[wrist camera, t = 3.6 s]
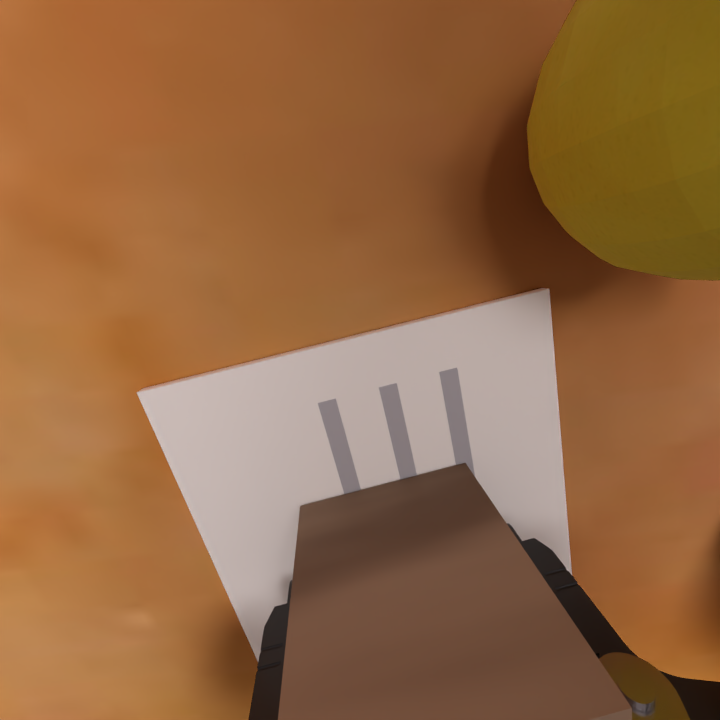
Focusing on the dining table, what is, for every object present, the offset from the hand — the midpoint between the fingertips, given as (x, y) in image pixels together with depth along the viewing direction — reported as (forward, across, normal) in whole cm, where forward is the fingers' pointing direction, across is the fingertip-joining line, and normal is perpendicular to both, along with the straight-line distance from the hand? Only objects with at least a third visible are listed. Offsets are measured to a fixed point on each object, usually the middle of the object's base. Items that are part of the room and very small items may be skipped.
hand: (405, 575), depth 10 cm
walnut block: (+1, 0, 0) cm, 1 cm away
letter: (+1, 0, 0) cm, 1 cm away
